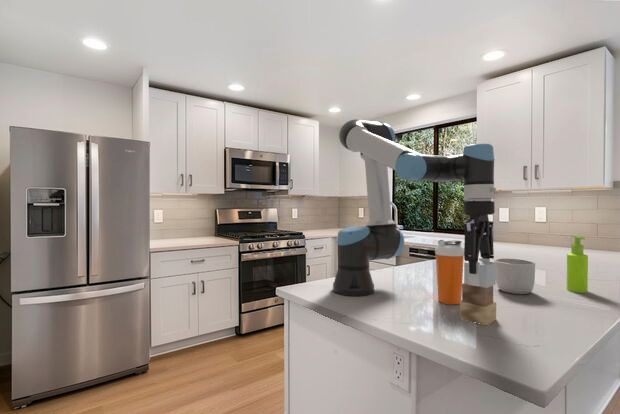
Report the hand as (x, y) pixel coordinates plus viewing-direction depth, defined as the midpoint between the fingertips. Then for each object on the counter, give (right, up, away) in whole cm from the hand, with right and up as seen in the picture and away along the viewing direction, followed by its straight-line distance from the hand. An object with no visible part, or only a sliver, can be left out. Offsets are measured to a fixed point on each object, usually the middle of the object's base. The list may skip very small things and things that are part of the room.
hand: (479, 283), depth 92 cm
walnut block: (0, -5, 0) cm, 5 cm away
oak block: (0, -10, 0) cm, 10 cm away
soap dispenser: (+49, -9, +28) cm, 57 cm away
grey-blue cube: (0, 0, 0) cm, 0 cm away
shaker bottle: (-1, -10, +16) cm, 19 cm away
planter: (+27, -10, +28) cm, 40 cm away
